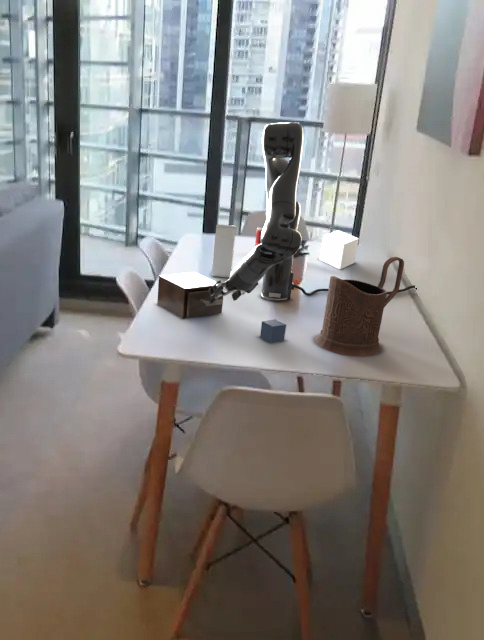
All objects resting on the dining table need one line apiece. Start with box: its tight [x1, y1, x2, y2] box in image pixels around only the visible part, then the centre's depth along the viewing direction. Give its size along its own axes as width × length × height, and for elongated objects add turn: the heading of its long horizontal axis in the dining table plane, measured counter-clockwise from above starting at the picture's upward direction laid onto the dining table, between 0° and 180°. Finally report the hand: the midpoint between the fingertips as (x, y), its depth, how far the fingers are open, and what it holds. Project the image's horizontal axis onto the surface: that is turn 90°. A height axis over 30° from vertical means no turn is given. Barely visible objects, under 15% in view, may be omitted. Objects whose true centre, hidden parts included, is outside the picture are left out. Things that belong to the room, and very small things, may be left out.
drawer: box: [185, 289, 224, 319], centre depth 227 cm, size 19×13×8 cm, turn 28°
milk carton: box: [211, 223, 237, 278], centre depth 271 cm, size 7×7×19 cm
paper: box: [319, 229, 360, 270], centre depth 301 cm, size 14×29×10 cm, turn 170°
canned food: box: [254, 225, 265, 248], centre depth 307 cm, size 8×8×11 cm
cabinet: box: [156, 271, 217, 320], centre depth 231 cm, size 16×14×10 cm
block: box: [259, 319, 287, 344], centre depth 209 cm, size 5×5×5 cm
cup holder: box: [315, 256, 405, 357], centre depth 205 cm, size 18×24×25 cm
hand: (221, 299), depth 216 cm, fingers open, 8 cm apart
